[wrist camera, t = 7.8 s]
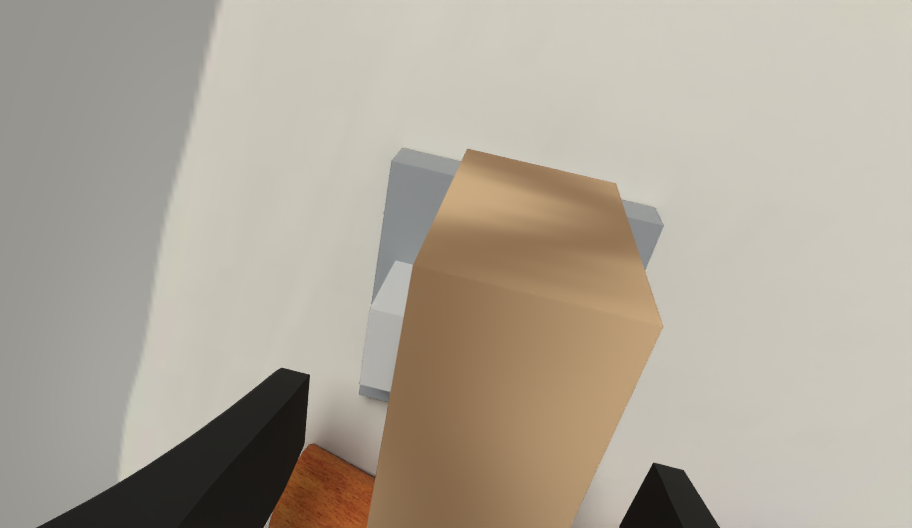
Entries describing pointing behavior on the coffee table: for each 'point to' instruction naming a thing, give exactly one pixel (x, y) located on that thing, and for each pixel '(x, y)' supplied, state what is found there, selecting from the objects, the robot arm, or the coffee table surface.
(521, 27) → the coffee table surface
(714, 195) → the coffee table surface
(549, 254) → the oak bar
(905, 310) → the coffee table surface
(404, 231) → the balance stand
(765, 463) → the coffee table surface
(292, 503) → the kendama
